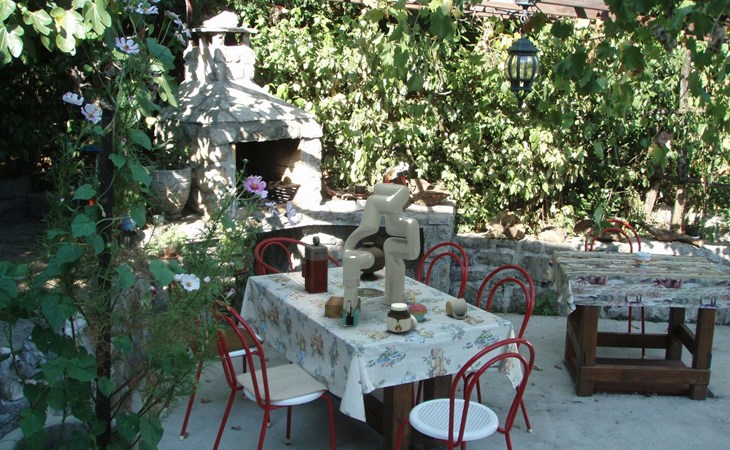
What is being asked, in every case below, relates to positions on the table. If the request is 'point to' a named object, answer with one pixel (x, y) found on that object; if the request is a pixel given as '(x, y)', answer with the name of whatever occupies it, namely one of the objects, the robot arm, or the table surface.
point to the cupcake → (417, 310)
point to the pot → (378, 262)
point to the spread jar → (400, 319)
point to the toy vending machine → (315, 267)
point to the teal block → (355, 314)
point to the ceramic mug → (456, 308)
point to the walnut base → (337, 307)
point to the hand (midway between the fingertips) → (351, 322)
